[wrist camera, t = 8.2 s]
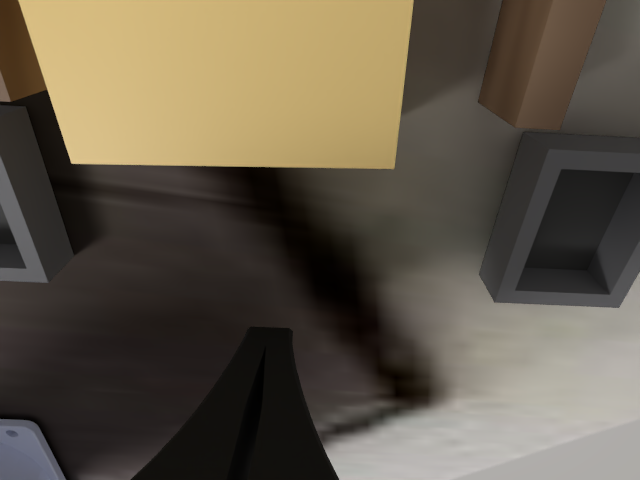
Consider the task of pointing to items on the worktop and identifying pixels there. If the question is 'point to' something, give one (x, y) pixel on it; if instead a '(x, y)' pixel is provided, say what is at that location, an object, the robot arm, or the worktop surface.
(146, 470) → the robot arm
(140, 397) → the worktop surface
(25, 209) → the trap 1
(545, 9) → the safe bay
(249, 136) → the block
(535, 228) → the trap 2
